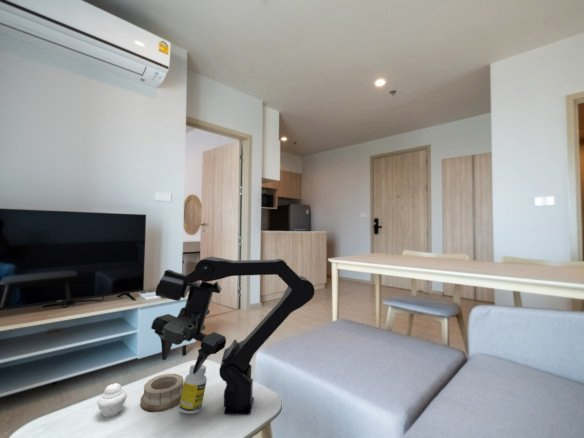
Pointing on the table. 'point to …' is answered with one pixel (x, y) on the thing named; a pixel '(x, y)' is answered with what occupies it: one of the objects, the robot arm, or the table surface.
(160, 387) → the stone fire pit
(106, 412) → the muffin
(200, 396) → the supplement bottle
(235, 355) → the robot arm
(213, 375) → the table surface
